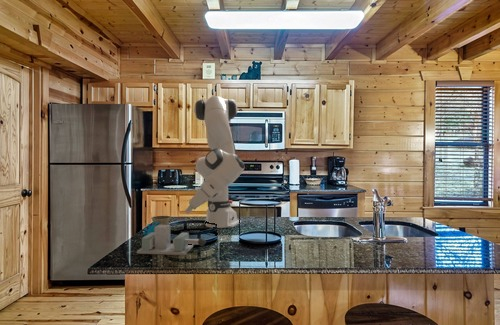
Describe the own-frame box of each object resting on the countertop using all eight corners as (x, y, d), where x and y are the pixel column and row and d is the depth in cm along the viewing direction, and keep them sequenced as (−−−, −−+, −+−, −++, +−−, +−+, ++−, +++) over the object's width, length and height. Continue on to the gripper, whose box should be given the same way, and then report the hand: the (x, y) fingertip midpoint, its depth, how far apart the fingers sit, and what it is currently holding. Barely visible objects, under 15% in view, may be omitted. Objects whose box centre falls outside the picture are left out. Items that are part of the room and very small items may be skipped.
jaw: (208, 244, 139) (208, 233, 139) (202, 251, 129) (202, 239, 129) (180, 243, 140) (180, 232, 140) (172, 250, 130) (172, 238, 130)
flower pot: (150, 233, 164) (149, 216, 164) (168, 231, 168) (168, 214, 168) (152, 237, 156) (152, 219, 155) (172, 235, 160) (172, 218, 159)
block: (170, 245, 138) (170, 224, 138) (166, 249, 133) (166, 227, 133) (159, 245, 139) (159, 224, 139) (154, 248, 134) (154, 227, 134)
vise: (193, 246, 141) (193, 232, 141) (184, 255, 129) (184, 240, 129) (149, 245, 143) (148, 231, 143) (136, 253, 131) (136, 238, 131)
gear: (138, 236, 151) (148, 219, 157) (142, 243, 155) (152, 225, 161) (159, 241, 148) (169, 223, 154) (163, 248, 152) (172, 230, 158)
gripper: (213, 179, 144) (191, 201, 145) (201, 183, 123) (176, 208, 125) (223, 189, 143) (201, 211, 145) (213, 195, 123) (188, 220, 124)
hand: (190, 210), depth 134 cm, fingers open, 8 cm apart
